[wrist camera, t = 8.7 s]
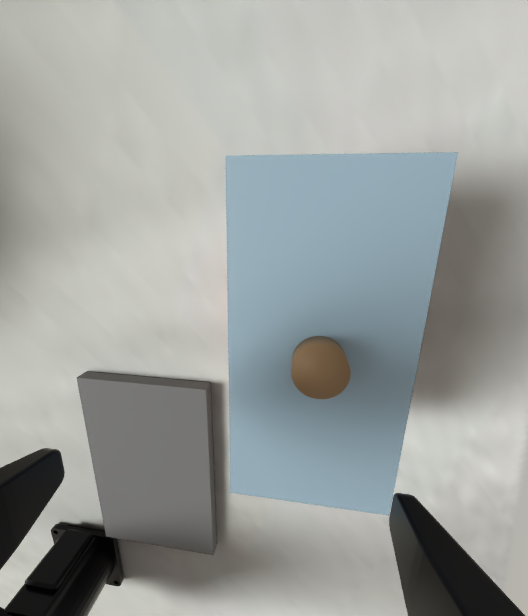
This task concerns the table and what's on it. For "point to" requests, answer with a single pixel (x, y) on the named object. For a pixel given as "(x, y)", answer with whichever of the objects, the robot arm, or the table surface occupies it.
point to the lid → (328, 318)
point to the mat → (152, 458)
